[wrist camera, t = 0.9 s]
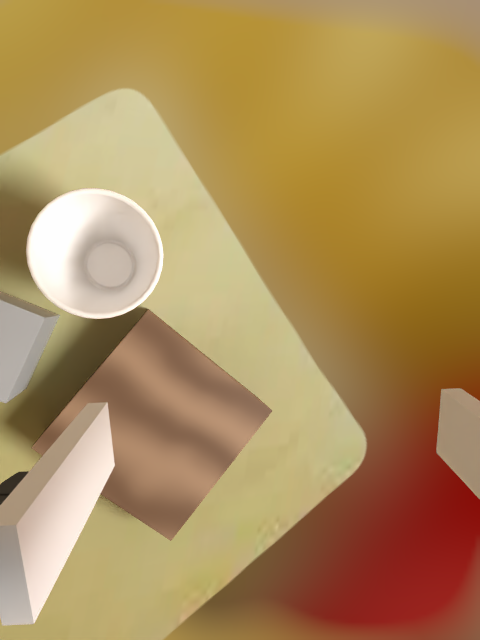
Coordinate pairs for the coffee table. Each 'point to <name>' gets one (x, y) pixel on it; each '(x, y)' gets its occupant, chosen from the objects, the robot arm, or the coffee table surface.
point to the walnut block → (164, 423)
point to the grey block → (21, 342)
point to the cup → (94, 253)
